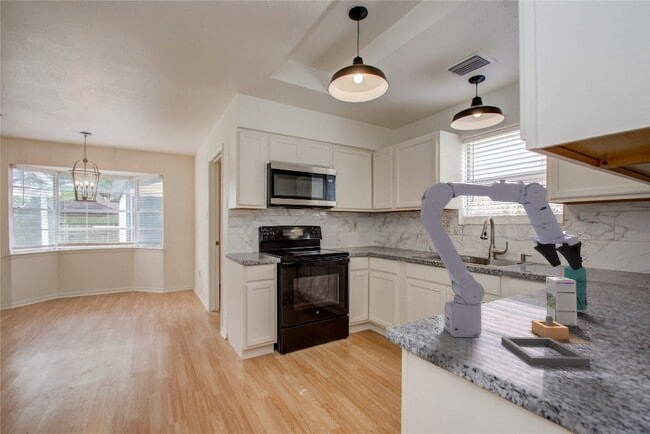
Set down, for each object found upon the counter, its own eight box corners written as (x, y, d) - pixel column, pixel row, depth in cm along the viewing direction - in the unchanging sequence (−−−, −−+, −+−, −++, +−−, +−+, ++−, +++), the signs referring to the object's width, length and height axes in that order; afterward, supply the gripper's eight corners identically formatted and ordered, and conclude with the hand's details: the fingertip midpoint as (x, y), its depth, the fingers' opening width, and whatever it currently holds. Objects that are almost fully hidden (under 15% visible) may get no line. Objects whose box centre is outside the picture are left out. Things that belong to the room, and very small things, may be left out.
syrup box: (578, 329, 89) (577, 280, 89) (555, 327, 90) (555, 279, 90) (566, 322, 94) (566, 276, 95) (545, 321, 95) (545, 276, 96)
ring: (545, 338, 78) (545, 327, 78) (531, 331, 84) (531, 320, 84) (574, 339, 78) (574, 327, 78) (558, 331, 84) (558, 320, 84)
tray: (532, 369, 64) (531, 357, 64) (501, 346, 76) (501, 336, 76) (590, 370, 63) (589, 359, 63) (550, 347, 75) (549, 337, 75)
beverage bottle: (559, 310, 107) (558, 255, 108) (572, 309, 109) (571, 254, 110) (579, 315, 101) (578, 257, 102) (592, 314, 103) (591, 256, 104)
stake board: (550, 346, 76) (550, 321, 76) (528, 333, 85) (527, 311, 85) (591, 347, 75) (590, 322, 75) (564, 334, 84) (564, 312, 84)
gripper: (578, 215, 76) (603, 263, 75) (540, 218, 91) (561, 259, 90) (552, 226, 76) (577, 275, 75) (518, 227, 91) (539, 268, 90)
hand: (567, 267), depth 83 cm, fingers open, 7 cm apart
